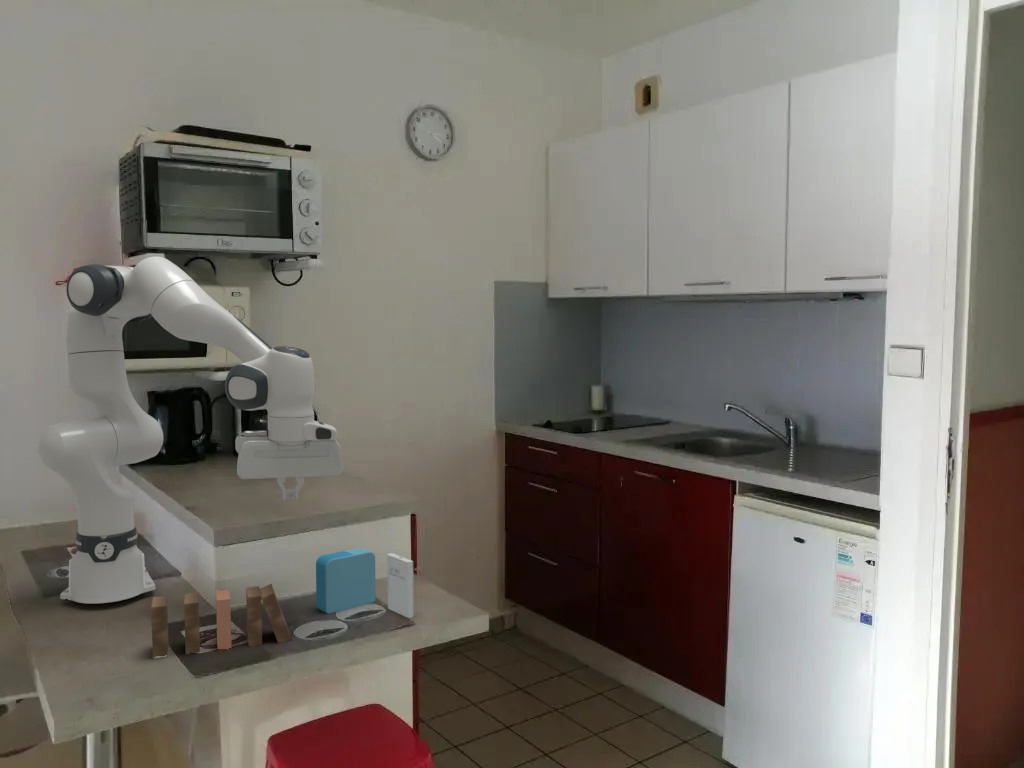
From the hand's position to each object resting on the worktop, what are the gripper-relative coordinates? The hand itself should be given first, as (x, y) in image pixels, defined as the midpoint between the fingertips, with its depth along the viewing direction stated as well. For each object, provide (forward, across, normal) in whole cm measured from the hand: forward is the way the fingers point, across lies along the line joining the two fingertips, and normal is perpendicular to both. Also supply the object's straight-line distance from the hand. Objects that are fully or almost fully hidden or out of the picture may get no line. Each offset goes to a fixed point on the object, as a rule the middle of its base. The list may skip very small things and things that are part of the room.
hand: (290, 499), depth 165 cm
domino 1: (+26, -24, -6) cm, 36 cm away
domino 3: (+26, -12, -6) cm, 30 cm away
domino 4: (+26, -7, -6) cm, 28 cm away
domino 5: (+26, -2, -6) cm, 26 cm away
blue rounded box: (+26, +12, +8) cm, 30 cm away
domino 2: (+26, -18, -6) cm, 33 cm away
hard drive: (+26, +22, -1) cm, 34 cm away
